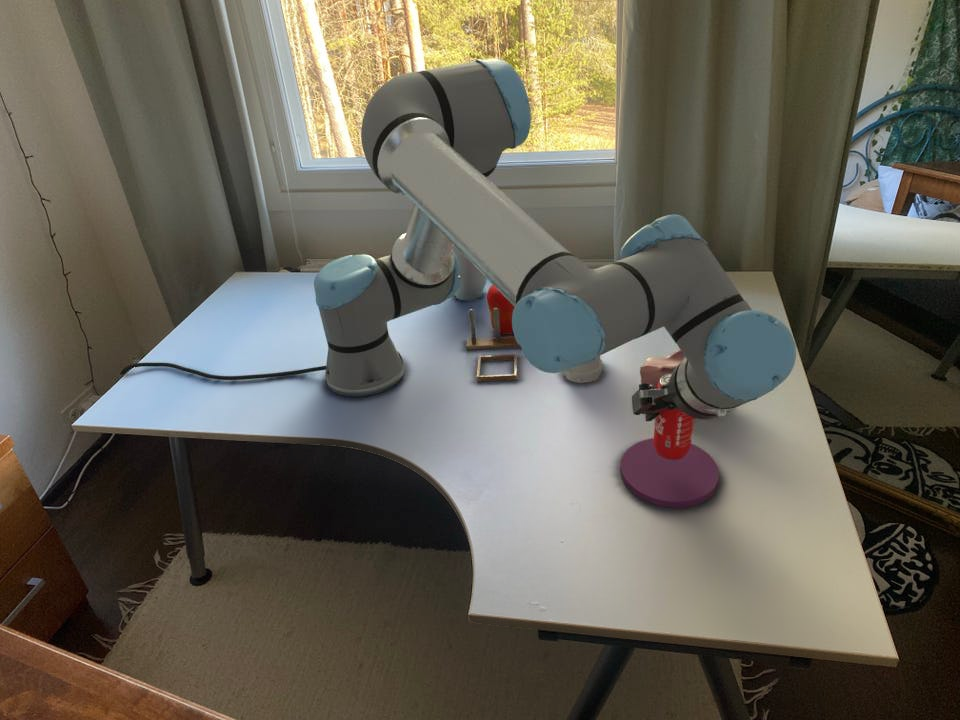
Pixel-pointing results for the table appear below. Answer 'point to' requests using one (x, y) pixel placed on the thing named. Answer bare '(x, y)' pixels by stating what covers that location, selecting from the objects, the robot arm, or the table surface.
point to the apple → (500, 310)
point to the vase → (468, 278)
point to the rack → (492, 343)
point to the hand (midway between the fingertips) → (668, 411)
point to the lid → (669, 476)
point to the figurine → (659, 368)
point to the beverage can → (672, 431)
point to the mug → (584, 372)
